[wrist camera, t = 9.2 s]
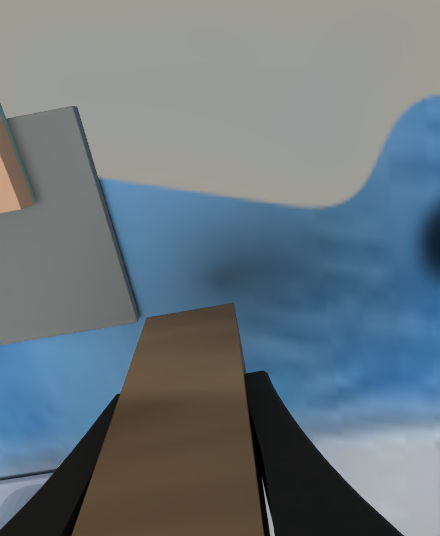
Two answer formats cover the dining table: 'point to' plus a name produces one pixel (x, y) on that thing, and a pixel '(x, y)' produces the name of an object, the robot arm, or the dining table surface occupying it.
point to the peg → (180, 438)
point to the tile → (12, 173)
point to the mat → (59, 239)
